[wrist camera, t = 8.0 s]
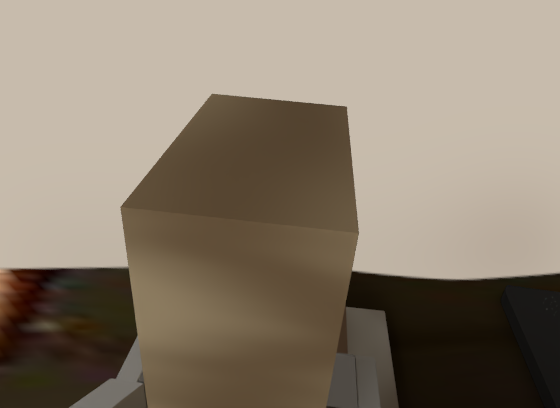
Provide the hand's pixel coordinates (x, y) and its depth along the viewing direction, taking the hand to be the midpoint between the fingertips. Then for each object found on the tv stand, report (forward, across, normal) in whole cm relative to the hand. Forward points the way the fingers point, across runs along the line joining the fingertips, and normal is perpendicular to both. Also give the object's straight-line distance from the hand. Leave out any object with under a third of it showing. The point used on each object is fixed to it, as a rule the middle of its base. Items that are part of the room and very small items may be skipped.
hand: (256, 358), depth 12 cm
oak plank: (-1, 0, +8) cm, 8 cm away
